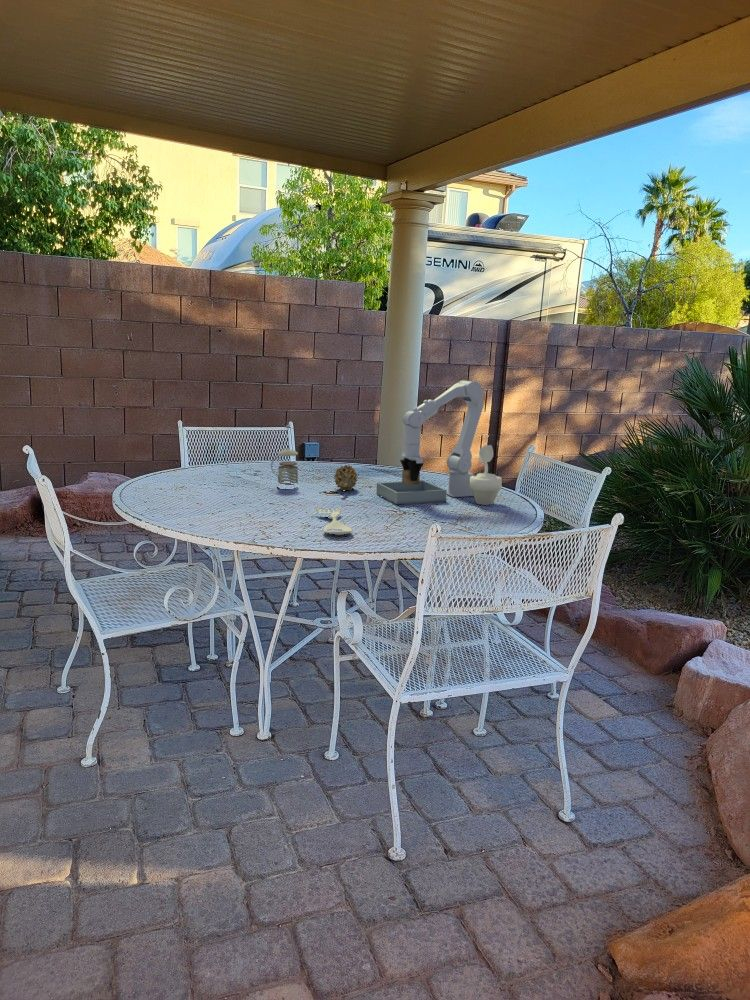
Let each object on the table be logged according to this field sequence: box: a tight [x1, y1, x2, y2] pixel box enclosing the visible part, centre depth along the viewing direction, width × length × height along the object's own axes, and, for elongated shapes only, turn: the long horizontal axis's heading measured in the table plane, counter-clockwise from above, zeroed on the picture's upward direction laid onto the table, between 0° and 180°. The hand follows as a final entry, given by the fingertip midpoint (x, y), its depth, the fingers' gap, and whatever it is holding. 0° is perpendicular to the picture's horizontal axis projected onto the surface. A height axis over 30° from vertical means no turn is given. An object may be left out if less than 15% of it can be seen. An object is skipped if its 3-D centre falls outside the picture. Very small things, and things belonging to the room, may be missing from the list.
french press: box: [270, 424, 299, 485], centre depth 290 cm, size 10×12×25 cm
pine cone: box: [333, 464, 358, 491], centre depth 285 cm, size 22×10×10 cm, turn 1°
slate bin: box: [376, 480, 448, 505], centre depth 277 cm, size 20×20×4 cm
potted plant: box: [470, 441, 504, 506], centre depth 268 cm, size 13×12×25 cm
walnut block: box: [401, 469, 421, 485], centre depth 275 cm, size 5×5×5 cm
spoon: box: [315, 505, 354, 536], centre depth 233 cm, size 9×32×4 cm, turn 10°
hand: (411, 479), depth 276 cm, fingers closed on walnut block, 5 cm apart
